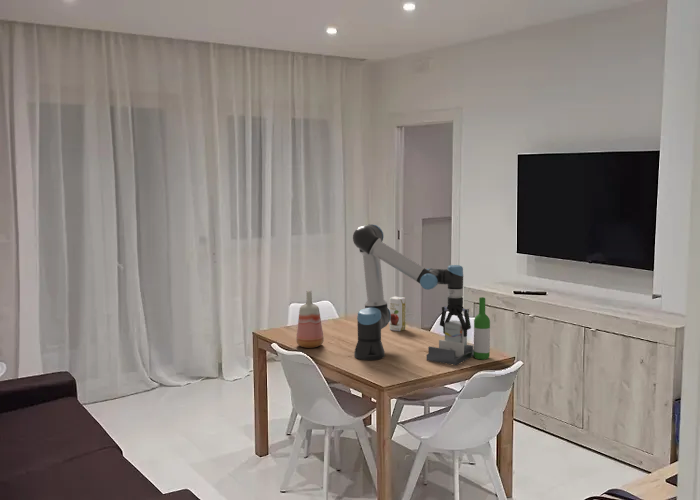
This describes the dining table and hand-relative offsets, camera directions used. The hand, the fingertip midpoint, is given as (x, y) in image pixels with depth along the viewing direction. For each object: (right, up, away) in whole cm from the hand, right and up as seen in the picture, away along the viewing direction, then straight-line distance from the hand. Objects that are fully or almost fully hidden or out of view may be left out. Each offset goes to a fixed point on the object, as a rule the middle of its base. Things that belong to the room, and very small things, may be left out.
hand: (455, 341), depth 329 cm
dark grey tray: (-2, -8, -2) cm, 8 cm away
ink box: (+1, -2, +1) cm, 3 cm away
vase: (-73, -6, +22) cm, 77 cm away
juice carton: (-25, -1, +56) cm, 61 cm away
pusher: (-4, -7, -4) cm, 9 cm away
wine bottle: (+12, -8, -3) cm, 15 cm away
